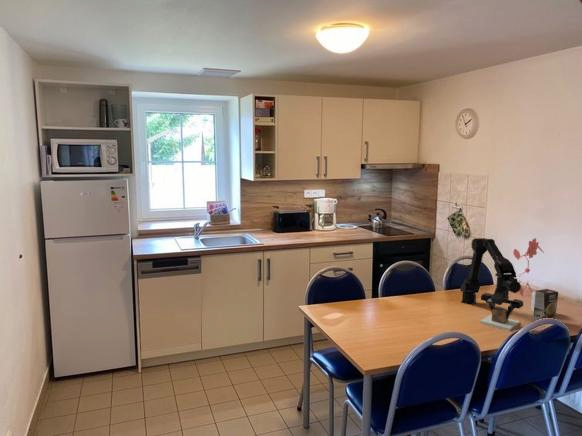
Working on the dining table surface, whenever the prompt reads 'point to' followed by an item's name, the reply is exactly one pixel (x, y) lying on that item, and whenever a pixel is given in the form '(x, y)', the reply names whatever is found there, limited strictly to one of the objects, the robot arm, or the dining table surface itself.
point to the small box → (533, 301)
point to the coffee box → (545, 304)
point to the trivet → (507, 326)
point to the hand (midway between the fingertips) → (500, 316)
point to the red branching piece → (531, 252)
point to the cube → (499, 315)
